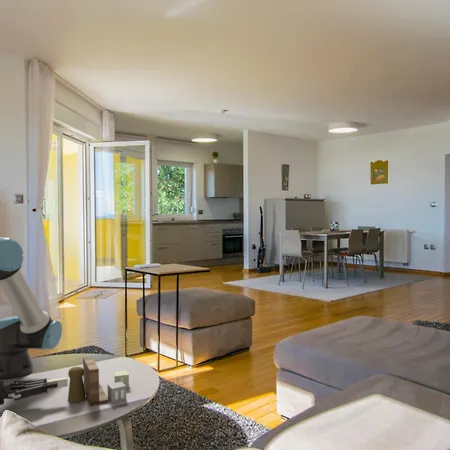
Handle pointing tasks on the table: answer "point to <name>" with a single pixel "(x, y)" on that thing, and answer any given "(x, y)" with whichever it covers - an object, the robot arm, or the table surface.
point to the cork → (76, 385)
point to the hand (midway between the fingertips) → (67, 381)
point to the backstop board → (93, 382)
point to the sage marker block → (122, 377)
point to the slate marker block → (116, 392)
